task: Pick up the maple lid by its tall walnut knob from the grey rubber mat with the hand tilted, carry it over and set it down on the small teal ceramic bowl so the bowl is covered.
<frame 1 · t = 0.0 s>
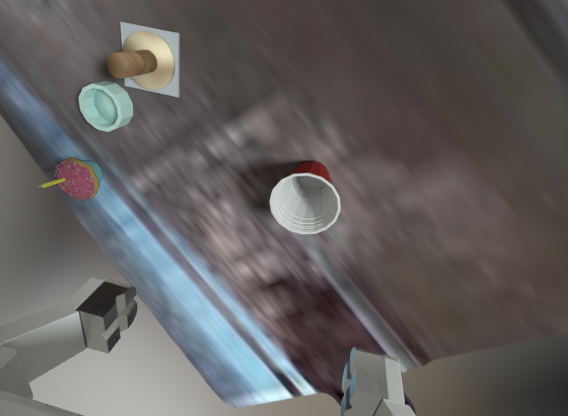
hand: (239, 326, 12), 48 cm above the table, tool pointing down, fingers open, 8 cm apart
plastic cup: (313, 175, 61), on the table
cupcake: (93, 170, 70), on the table
bowl: (112, 104, 62), on the table
mat: (151, 60, 57), on the table
lid: (150, 60, 56), resting on mat
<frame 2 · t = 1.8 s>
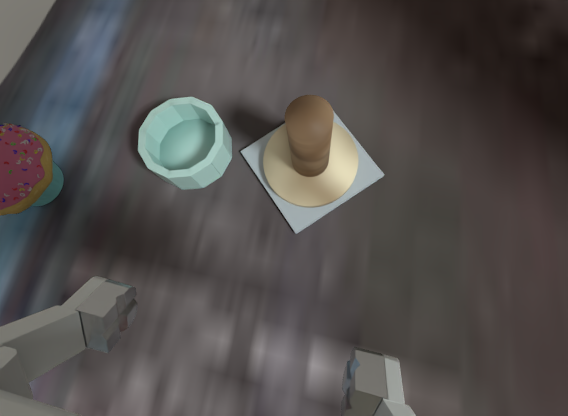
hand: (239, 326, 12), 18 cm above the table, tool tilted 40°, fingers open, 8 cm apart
cupcake: (45, 185, 35), on the table
bowl: (193, 151, 34), on the table
mat: (310, 164, 33), on the table
lid: (310, 162, 32), resting on mat
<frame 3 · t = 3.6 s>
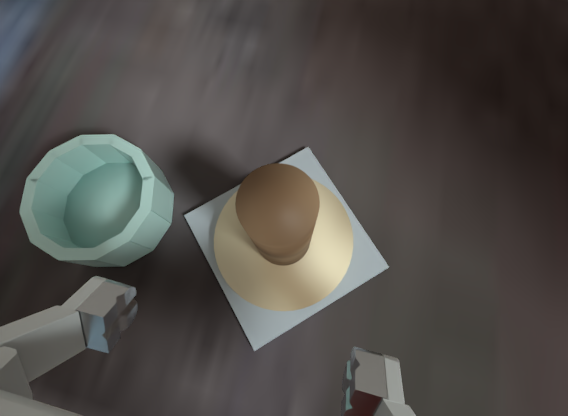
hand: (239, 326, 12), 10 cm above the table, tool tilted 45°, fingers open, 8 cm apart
bowl: (116, 209, 24), on the table
mat: (283, 241, 23), on the table
lid: (283, 240, 22), resting on mat
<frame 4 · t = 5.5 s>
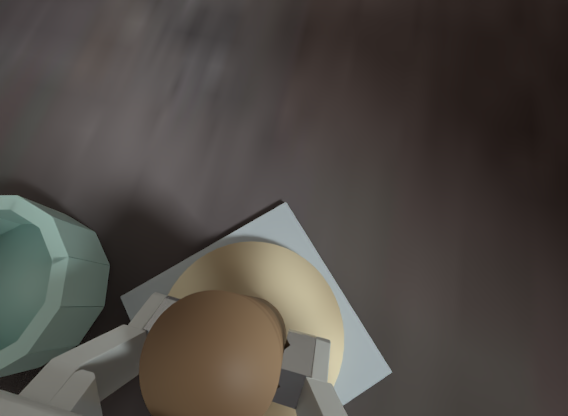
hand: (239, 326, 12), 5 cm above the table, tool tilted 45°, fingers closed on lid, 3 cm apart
bowl: (33, 286, 18), on the table
mat: (251, 332, 17), on the table
lid: (251, 333, 17), resting on mat, touching gripper
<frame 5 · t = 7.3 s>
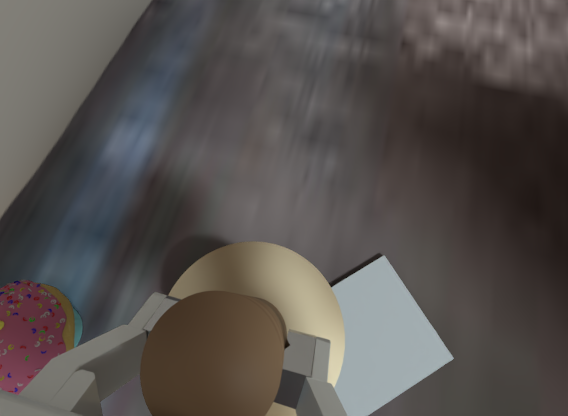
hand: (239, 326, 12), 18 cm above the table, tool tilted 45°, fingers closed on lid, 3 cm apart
cupcake: (60, 332, 30), on the table
mat: (368, 334, 29), on the table
lid: (252, 333, 17), point 14 cm above the table, touching gripper
when the fingers open (10 cm above the table, at t = 9.4 s): lid drops 1 cm, resting on bowl.
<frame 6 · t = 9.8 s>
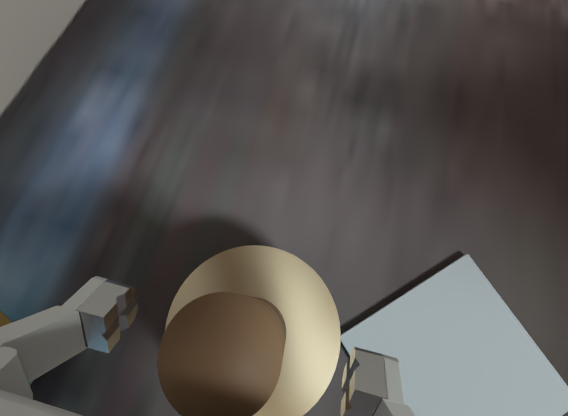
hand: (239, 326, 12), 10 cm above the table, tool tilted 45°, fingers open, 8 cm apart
mat: (452, 367, 20), on the table
lid: (253, 331, 18), point 3 cm above the table, touching bowl
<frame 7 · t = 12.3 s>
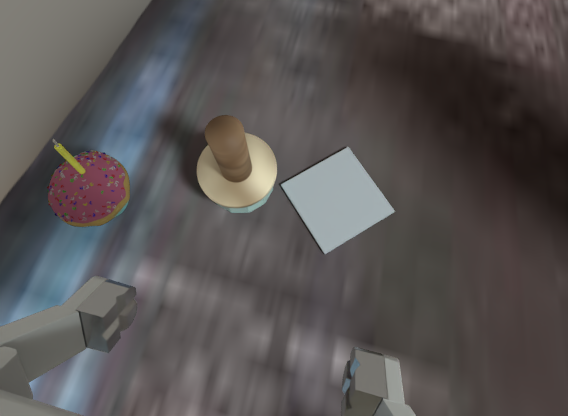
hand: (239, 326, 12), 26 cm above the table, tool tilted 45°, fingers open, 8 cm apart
cupcake: (111, 201, 41), on the table
mat: (336, 198, 41), on the table
lid: (237, 170, 38), point 3 cm above the table, touching bowl
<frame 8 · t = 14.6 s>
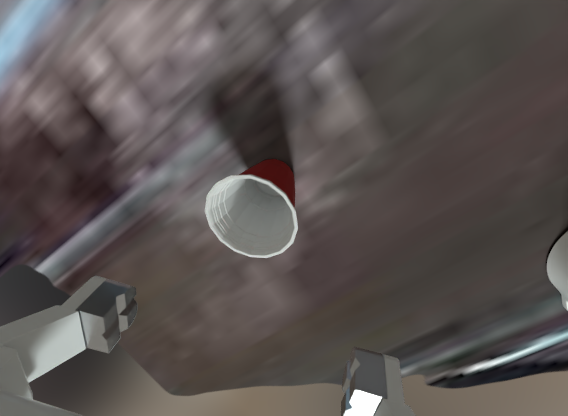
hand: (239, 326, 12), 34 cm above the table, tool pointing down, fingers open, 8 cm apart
plastic cup: (273, 178, 47), on the table
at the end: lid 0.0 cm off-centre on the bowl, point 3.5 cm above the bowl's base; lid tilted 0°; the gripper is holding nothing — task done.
